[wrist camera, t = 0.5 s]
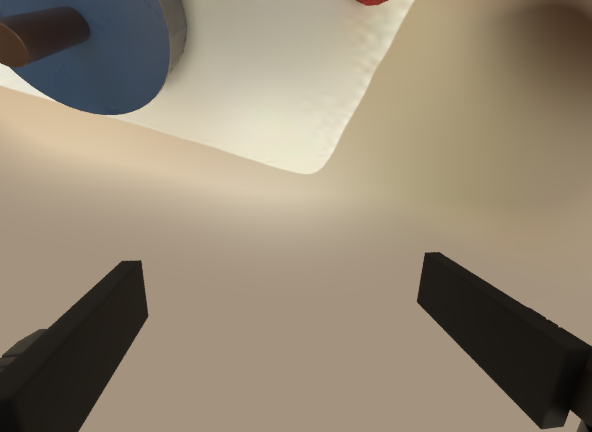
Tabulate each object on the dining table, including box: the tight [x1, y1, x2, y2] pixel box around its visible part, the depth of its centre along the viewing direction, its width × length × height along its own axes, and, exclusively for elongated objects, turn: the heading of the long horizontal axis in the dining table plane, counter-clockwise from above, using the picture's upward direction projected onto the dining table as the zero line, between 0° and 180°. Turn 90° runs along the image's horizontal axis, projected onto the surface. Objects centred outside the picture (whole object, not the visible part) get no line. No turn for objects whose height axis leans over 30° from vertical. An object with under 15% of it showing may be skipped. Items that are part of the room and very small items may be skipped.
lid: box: [0, 0, 171, 115], centre depth 21 cm, size 16×16×10 cm
